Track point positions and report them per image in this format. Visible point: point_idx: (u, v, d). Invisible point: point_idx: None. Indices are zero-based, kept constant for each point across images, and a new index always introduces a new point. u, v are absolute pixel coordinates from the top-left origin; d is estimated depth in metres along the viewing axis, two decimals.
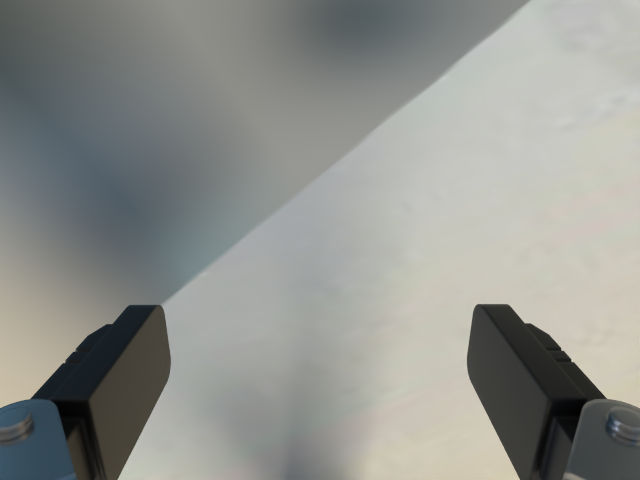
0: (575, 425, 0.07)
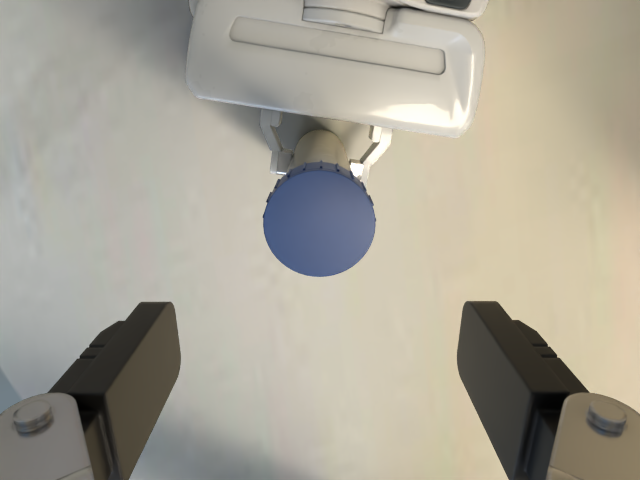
0: (557, 418, 0.08)
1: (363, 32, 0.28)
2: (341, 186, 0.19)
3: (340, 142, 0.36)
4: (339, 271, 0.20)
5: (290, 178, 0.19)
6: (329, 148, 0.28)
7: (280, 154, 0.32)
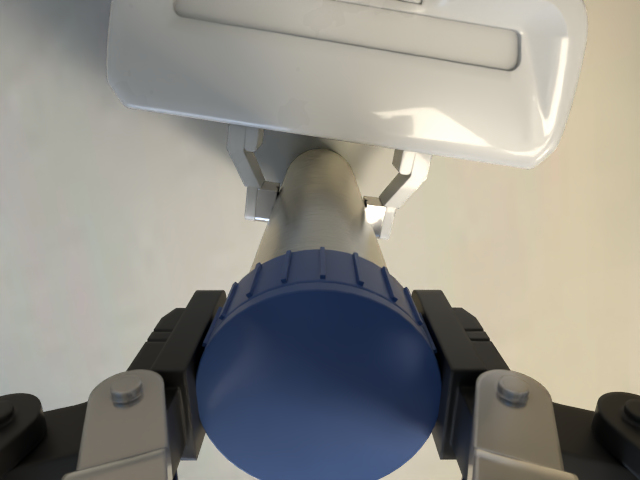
0: None
1: (390, 2, 0.17)
2: (369, 323, 0.08)
3: (349, 169, 0.25)
4: None
5: (251, 306, 0.08)
6: (335, 191, 0.17)
7: (259, 192, 0.21)
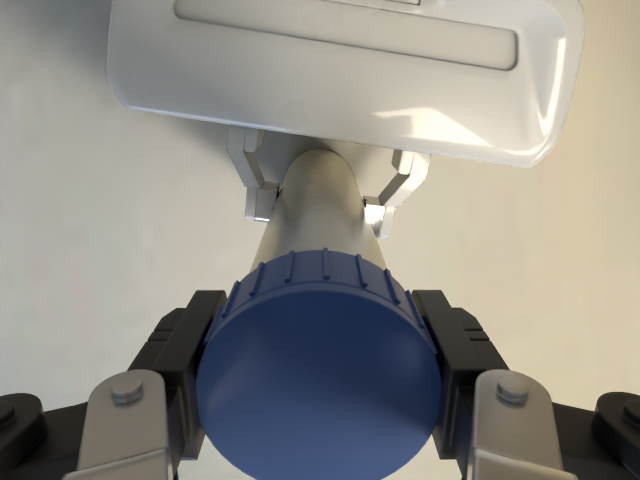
0: None
1: (388, 3, 0.17)
2: (219, 377, 0.09)
3: (348, 169, 0.25)
4: (422, 345, 0.08)
5: (232, 462, 0.10)
6: (334, 191, 0.17)
7: (259, 192, 0.21)
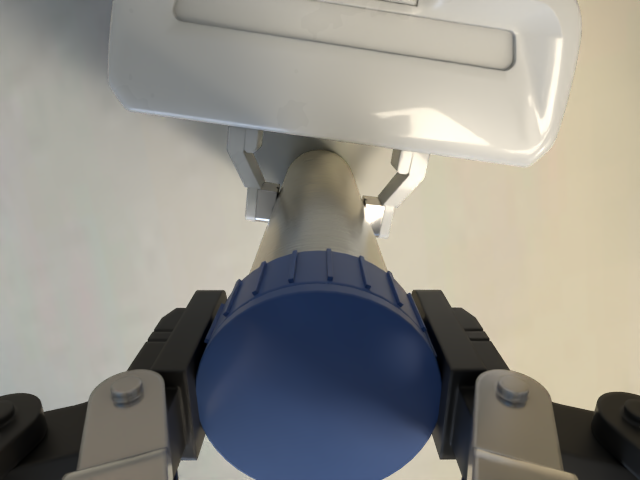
0: None
1: (386, 4, 0.18)
2: (309, 478, 0.10)
3: (348, 169, 0.25)
4: (227, 330, 0.08)
5: (410, 458, 0.09)
6: (334, 191, 0.17)
7: (260, 193, 0.21)
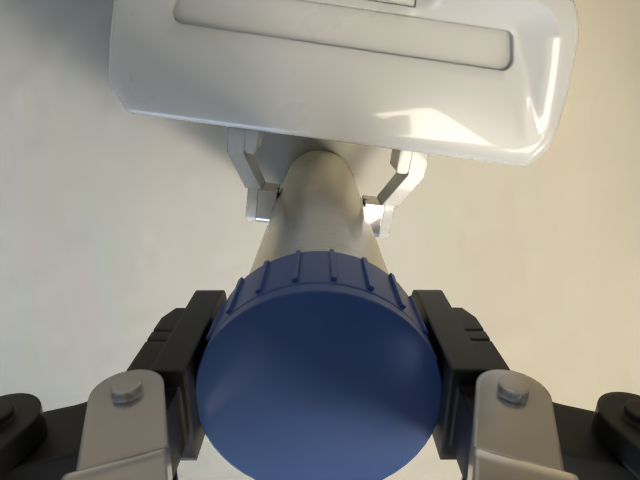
0: None
1: (384, 5, 0.18)
2: (419, 394, 0.09)
3: (348, 169, 0.25)
4: (257, 478, 0.10)
5: (377, 304, 0.08)
6: (334, 190, 0.17)
7: (260, 193, 0.21)
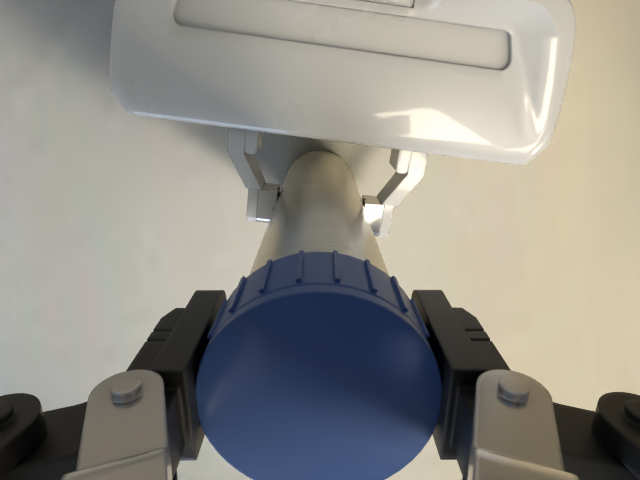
0: None
1: (383, 6, 0.18)
2: (286, 318, 0.08)
3: (348, 169, 0.25)
4: (425, 439, 0.09)
5: (197, 376, 0.09)
6: (333, 190, 0.17)
7: (260, 193, 0.21)
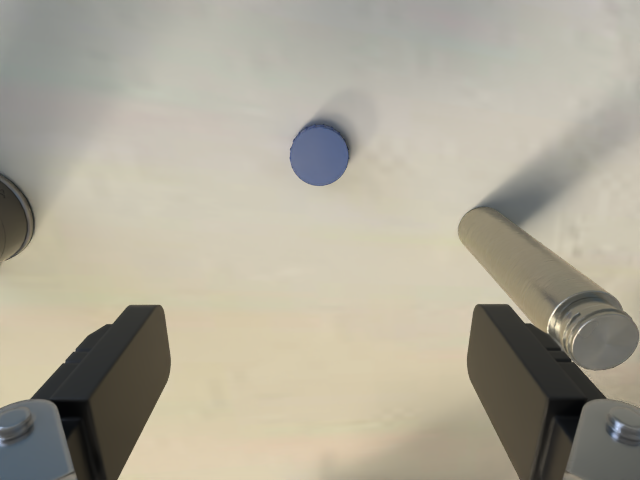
0: (575, 425, 0.07)
1: None
2: (312, 133, 0.37)
3: None
4: (345, 167, 0.38)
5: (291, 149, 0.38)
6: None
7: None
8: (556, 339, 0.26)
